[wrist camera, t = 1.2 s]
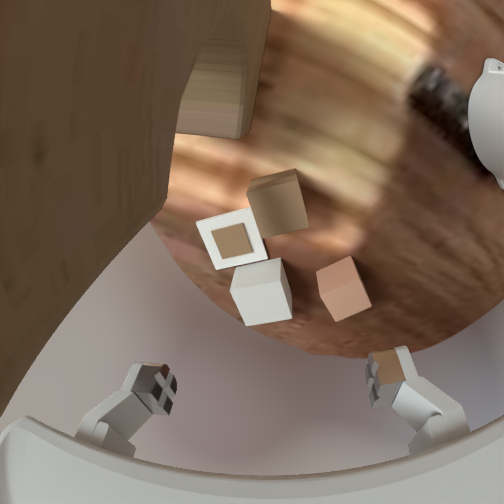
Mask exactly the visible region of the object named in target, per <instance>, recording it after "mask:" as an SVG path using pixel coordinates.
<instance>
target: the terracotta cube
mask: <svg viewBox="0 0 504 504" xmlns="http://www.w3.org/2000/svg"><path fill="white" fill-rule="evenodd" d="M316 274H317V280H318V287H319V293H320V297H321V298H322V300H323V302H324V303H325V305H326V307H327V308H328V310H329V312H330V313H331V315H332V317H333V318H334V320H335V322H337V321H339V320H342V319H344V318H346V317H349V316H351V315H353V314H356V313H358V312H360V311H363V310H365V309H367V308H369V307H371V306H372V305H371V303H370V300H369V297H368V294H367V291H366V289H365V286H364V283H363V281H362V279H361V277H360V274H359V272H358V270H357V268H356V266H355V264H354V261H353V259H352V257H351V255H350V256H348V257H346V258H344V259H342V260H340V261H338V262H336V263H334V264H332V265H329V266H327V267H325V268H323V269H321V270H319V271H317V272H316Z"/></svg>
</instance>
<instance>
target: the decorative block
mask: <svg viewBox="0 0 504 504" xmlns="http://www.w3.org/2000/svg"><path fill="white" fill-rule="evenodd" d="M271 11H272V10H271V1H270V0H0V417H1V416H2V414H3V412H4V410H5V409H6V407H7V405H8V403H9V401H10V399H11V398H12V396H13V394H14V392H15V391H16V389H17V387H18V386H19V384H20V382H21V381H22V379H23V378H24V376H25V374H26V373H27V371H28V370H29V368H30V367H31V365H32V363H33V362H34V361H35V359H36V357H37V356H38V355H39V353H40V352H41V350H42V349H43V347H44V346H45V344H46V343H47V341H48V340H49V339H50V337H51V336H52V334H53V333H54V332H55V330H56V329H57V328H58V326H59V325H60V324H61V322H62V321H63V320H64V318H65V317H66V316H67V314H68V313H69V312H70V310H71V309H72V308H73V307H74V305H75V304H76V303H77V301H78V300H79V299H80V298H81V297H82V295H83V294H84V293H85V292H86V290H87V289H88V288H89V287H90V286H91V284H92V283H93V282H94V281H95V280H96V278H97V277H98V276H99V275H100V274H101V273H102V271H103V270H104V269H105V268H106V267H107V266H108V265H109V264H110V262H111V261H112V260H113V259H114V258H115V257H116V256H117V255H118V253H119V252H120V251H121V250H122V249H123V248H124V247H125V246H126V245H127V244H128V242H129V241H131V239H132V238H133V237H134V236H135V235H136V234H137V233H138V232H139V231H140V230H141V229H142V228H143V227H144V226H145V225H146V224H147V223H148V222H149V221H150V220H151V219H152V218H153V217H154V216H155V215H156V214H157V213H158V212H159V211H160V210H161V209H162V207H163V205H164V203H165V201H166V199H167V192H168V183H169V174H170V166H171V159H172V152H173V145H174V138H175V133H180V134H191V135H201V136H210V137H219V138H227V139H234V140H237V139H240V138H242V137H243V136H244V135H245V134H247V133H248V132H249V131H250V129H251V123H252V117H253V111H254V105H255V99H256V93H257V87H258V81H259V76H260V70H261V64H262V59H263V53H264V48H265V42H266V37H267V32H268V26H269V21H270V16H271Z"/></svg>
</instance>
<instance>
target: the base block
mask: <svg viewBox="0 0 504 504" xmlns="http://www.w3.org/2000/svg"><path fill="white" fill-rule="evenodd" d="M230 292H231V294H232V296H233V299H234V301H235V303H236V305H237V307H238V309H239V312H240V314H241V316H242V318H243V320H244V322H245V325H246V326H250V325H257V324H263V323H269V322H275V321H281V320H286V319H292V293H291V290H290V287H289V283H288V280H287V277H286V273H285V270H284V267H283V264H282V260H281V258H277V259H272V260H268V261H263V262H259V263H254V264H249V265H245V266H240V267H236V269H235V273H234V277H233V280H232V284H231V288H230Z"/></svg>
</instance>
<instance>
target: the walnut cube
mask: <svg viewBox="0 0 504 504" xmlns="http://www.w3.org/2000/svg"><path fill="white" fill-rule="evenodd" d="M246 194H247V197H248V200H249V203H250V206H251V209H252V212H253V215H254V218H255V221H256V224H257V227H258V229H259V232H260V235H261V238H262V239H263V238H268V237H272V236H276V235H280V234H285V233H289V232H293V231H297V230H302V229H306V228H310V225H309V221H308V216H307V211H306V207H305V203H304V199H303V196H302V192H301V188H300V184H299V181H298V177H297V173H296V170H295V168H294V169H291V170H287V171H283V172H279V173H275V174H271V175H267V176H264V177H260V178H257V179H253V180H251V182H250V185H249V188H248V190H247V193H246Z"/></svg>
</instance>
